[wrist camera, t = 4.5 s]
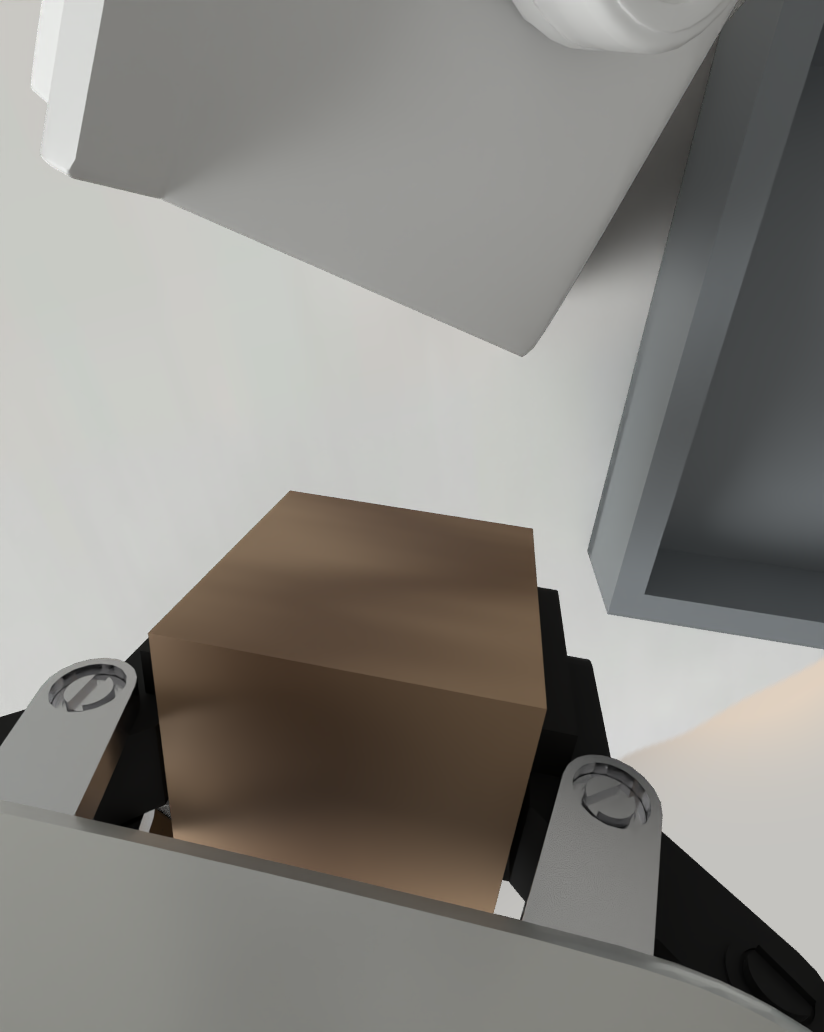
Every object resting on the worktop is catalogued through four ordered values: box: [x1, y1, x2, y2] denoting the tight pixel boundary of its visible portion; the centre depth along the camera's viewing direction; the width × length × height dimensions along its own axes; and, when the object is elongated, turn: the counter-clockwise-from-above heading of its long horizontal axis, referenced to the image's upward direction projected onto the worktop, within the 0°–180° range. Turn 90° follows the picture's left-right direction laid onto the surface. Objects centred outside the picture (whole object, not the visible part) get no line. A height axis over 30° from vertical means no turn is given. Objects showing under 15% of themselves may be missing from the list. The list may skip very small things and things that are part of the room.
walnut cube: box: [148, 491, 547, 913], centre depth 10 cm, size 5×5×5 cm
